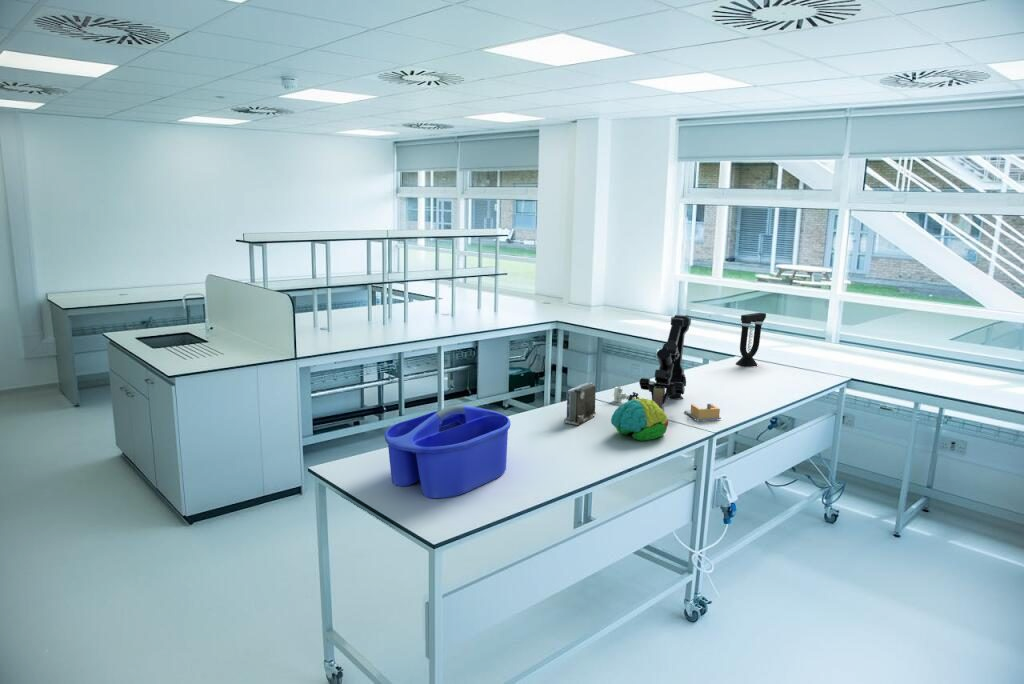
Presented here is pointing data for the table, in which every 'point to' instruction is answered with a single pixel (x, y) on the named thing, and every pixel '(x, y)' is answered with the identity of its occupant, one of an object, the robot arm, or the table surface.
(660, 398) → the rectangular block
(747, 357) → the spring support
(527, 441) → the table surface
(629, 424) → the brain model
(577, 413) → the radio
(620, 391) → the valve
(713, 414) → the keeper bracket
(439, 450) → the caddy
